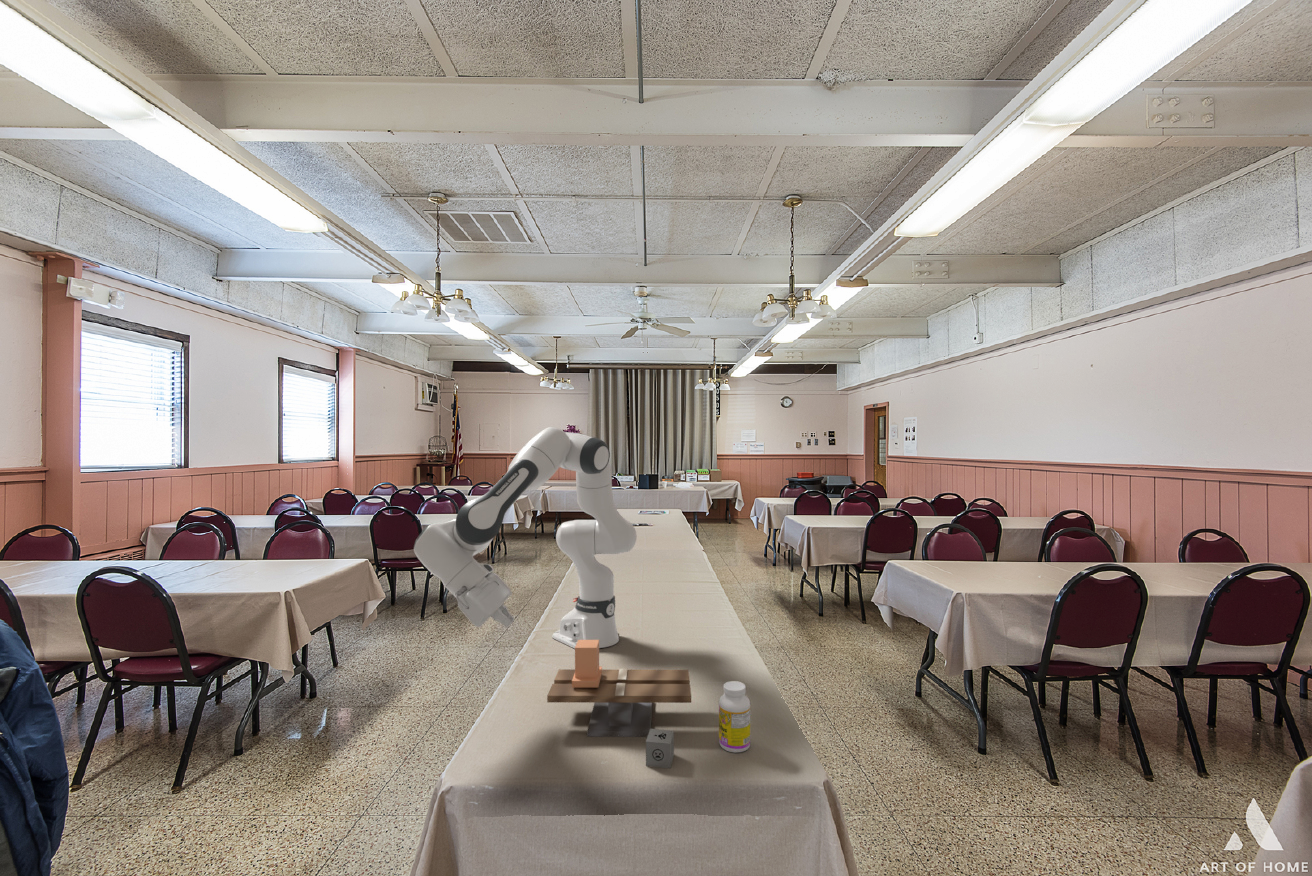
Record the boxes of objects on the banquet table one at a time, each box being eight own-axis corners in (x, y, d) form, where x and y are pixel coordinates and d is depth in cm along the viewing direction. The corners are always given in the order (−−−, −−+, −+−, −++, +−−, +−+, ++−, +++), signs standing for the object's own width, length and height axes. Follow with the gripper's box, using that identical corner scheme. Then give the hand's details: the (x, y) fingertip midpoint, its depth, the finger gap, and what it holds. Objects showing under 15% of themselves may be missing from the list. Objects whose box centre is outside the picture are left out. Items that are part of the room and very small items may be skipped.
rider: (571, 693, 128) (571, 650, 128) (577, 678, 136) (577, 637, 136) (598, 693, 128) (598, 650, 128) (602, 678, 136) (601, 637, 136)
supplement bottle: (716, 737, 124) (716, 679, 124) (746, 736, 124) (745, 678, 124) (722, 755, 117) (722, 693, 117) (753, 753, 118) (753, 691, 117)
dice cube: (670, 768, 112) (670, 743, 112) (645, 766, 113) (645, 741, 113) (673, 754, 117) (673, 730, 117) (650, 752, 118) (650, 728, 118)
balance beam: (546, 736, 124) (546, 696, 124) (559, 701, 140) (559, 667, 140) (691, 736, 124) (691, 697, 124) (688, 702, 140) (688, 667, 140)
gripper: (462, 584, 122) (508, 629, 122) (491, 562, 143) (530, 601, 143) (442, 604, 122) (487, 650, 122) (474, 580, 143) (513, 619, 143)
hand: (511, 623), depth 133 cm, fingers closed
